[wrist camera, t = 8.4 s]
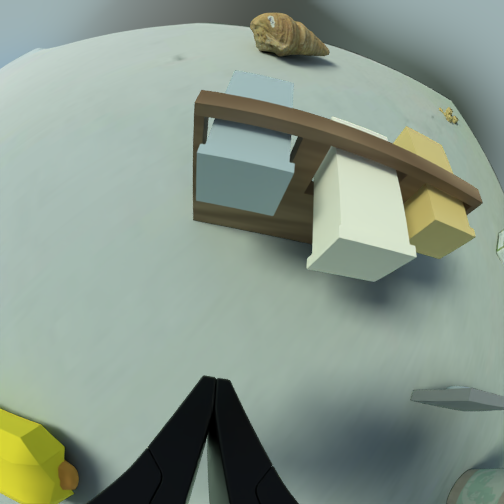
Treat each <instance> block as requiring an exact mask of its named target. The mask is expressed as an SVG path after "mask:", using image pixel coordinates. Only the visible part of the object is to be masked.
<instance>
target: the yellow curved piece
mask: <svg viewBox="0 0 504 504" xmlns="http://www.w3.org/2000/svg"><path fill="white" fill-rule="evenodd" d="M64 452H65V447H64V446H63V445H62V444H61V443H60V442H59V441H58V440H57V439H56V438H54V437H53V436H52V435H51V434H50V433H49V432H48V431H47V430H46V429H45V428H44V427H43V426H42V425H41V424H38V423H35V422H33V421H30V420H27V419H24V418H22V417H19V416H17V415H14V414H12V413H10V412H7V411H5V410H3V409H0V493H1V494H3V495H5V496H7V497H9V498H11V499H13V500H14V501H16V502H18V503H20V504H58V503H60V502H61V501H63V500H65V499H66V498H68V497H69V496H71V495H73V494H74V493H73V491H72V490H74V489H76V488H77V486H78V481H79V476H78V471H77V470H76V468H75V467H74V466H73V465H71V464H70V463H68V462H67V461H66V460H64Z"/></svg>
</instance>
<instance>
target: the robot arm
mask: <svg viewBox="0 0 504 504" xmlns="http://www.w3.org/2000/svg"><path fill="white" fill-rule="evenodd" d="M206 439H207V458H208V483H209V502H210V504H299V503H298V502H297V501H296V500H295V498H294V497H293V496H292V495H291V493H290V492H289V491H288V489H287V488H286V486H285V485H284V483H283V481H282V480H281V478H280V477H279V475H278V473H277V471H276V470H275V468H274V467H273V466H272V463H271V461H270V459H269V457H268V455H267V454H266V452H265V450H264V448H263V446H262V444H261V442H260V440H259V438H258V437H257V435H256V433H255V431H254V429H253V427H252V425H251V423H250V421H249V419H248V417H247V415H246V413H245V411H244V409H243V407H242V405H241V402H240V400H239V398H238V396H237V394H236V392H235V390H234V388H233V385H232V383H231V381H230V380H228V379H222V378H217V379H216V378H215V377H211V376H202V378H201V379H200V380H199V382H198V383H197V384H196V386H195V387H194V388H193V390H192V391H191V392H190V393H189V395H188V396H187V397H186V399H185V400H184V401H183V403H182V404H181V405H180V407H179V408H178V409H177V410H176V412H175V413H174V414H173V416H172V417H171V418H170V419H169V421H168V422H167V423H166V424H165V426H164V427H163V428H162V430H161V431H160V432H159V433H158V435H157V436H156V437H155V438H154V440H153V441H152V442H151V443H150V445H149V446H148V448H146V449H145V451H144V452H143V453H142V454H141V455H140V457H139V458H138V459H137V460H136V461H135V462H134V463H133V464H132V466H131V467H130V468H129V469H128V470H127V471H126V472H124V473H123V474H122V475H121V476H120V477H119V478H118V479H117V480H116V481H114V482H113V483H112V484H111V485H110V486H108V487H107V488H106V489H105V490H103V491H102V492H101V493H100V494H98V495H97V496H96V497H95V498H93V499H92V500H91V501H89V502H88V503H87V504H188V503H189V500H190V496H191V493H192V489H193V486H194V482H195V479H196V475H197V472H198V468H199V464H200V461H201V457H202V454H203V450H204V447H205V443H206ZM271 466H272V467H271Z"/></svg>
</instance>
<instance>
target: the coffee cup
mask: <svg viewBox="0 0 504 504" xmlns="http://www.w3.org/2000/svg"><path fill="white" fill-rule="evenodd" d="M447 504H504V468H497V469H470V470H468V471H466V472H465V473H464V474H463V475H462V476H461V477H460V478H459V479H458V480H457V482H456V483H455V485H454V486H453V488H452V490H451V492H450V494H449V496H448V500H447Z"/></svg>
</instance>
